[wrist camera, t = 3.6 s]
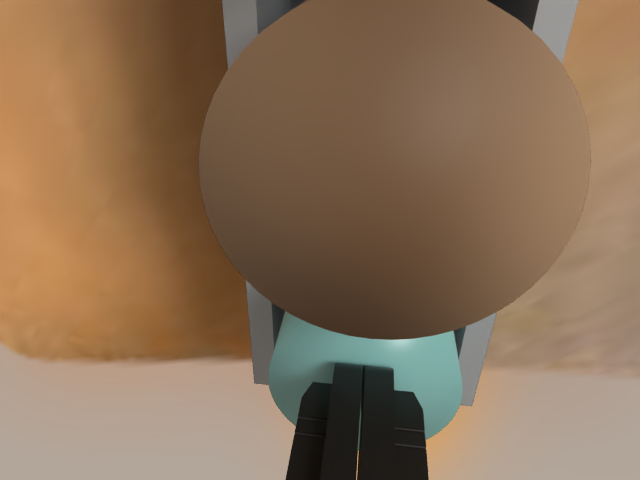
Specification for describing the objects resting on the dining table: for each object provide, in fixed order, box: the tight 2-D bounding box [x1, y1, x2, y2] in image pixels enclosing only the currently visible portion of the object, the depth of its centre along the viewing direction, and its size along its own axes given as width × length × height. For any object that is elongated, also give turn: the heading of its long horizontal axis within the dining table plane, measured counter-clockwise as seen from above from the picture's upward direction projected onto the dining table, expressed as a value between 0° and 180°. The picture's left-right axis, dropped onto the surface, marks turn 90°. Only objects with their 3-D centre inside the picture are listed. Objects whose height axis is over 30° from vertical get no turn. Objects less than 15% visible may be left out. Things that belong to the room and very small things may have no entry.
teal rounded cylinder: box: [268, 311, 463, 450], centre depth 15 cm, size 5×5×6 cm
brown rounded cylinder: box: [198, 0, 591, 340], centre depth 9 cm, size 5×5×6 cm
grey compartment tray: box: [222, 0, 579, 406], centre depth 14 cm, size 10×22×6 cm, turn 179°
